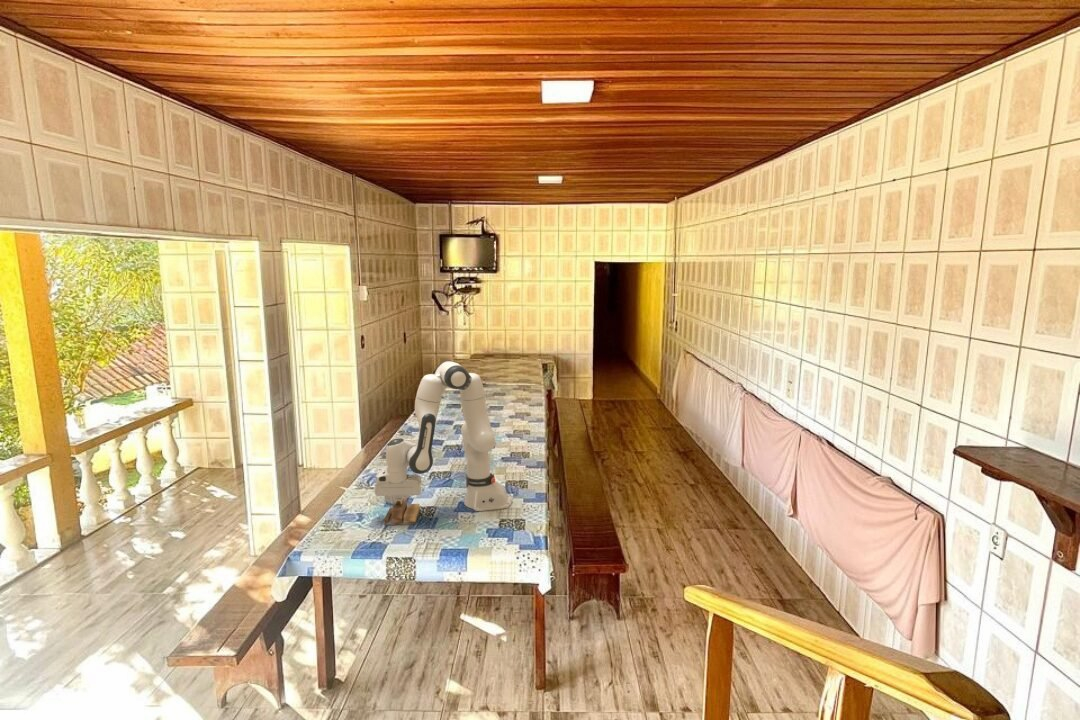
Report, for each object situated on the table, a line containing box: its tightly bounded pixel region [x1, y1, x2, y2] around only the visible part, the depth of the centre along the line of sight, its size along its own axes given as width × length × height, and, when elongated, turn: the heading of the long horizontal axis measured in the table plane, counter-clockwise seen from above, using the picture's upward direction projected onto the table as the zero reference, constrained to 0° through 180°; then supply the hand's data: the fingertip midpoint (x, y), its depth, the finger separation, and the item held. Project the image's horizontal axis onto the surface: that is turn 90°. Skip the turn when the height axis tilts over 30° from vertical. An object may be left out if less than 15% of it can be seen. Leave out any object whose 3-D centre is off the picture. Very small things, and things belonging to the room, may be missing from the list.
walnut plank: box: [391, 498, 408, 523], centre depth 250 cm, size 4×12×6 cm, turn 3°
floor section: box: [383, 503, 421, 527], centre depth 250 cm, size 14×13×4 cm
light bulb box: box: [384, 495, 411, 505], centre depth 269 cm, size 11×7×11 cm, turn 141°
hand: (398, 503), depth 249 cm, fingers closed, pressing on walnut plank
